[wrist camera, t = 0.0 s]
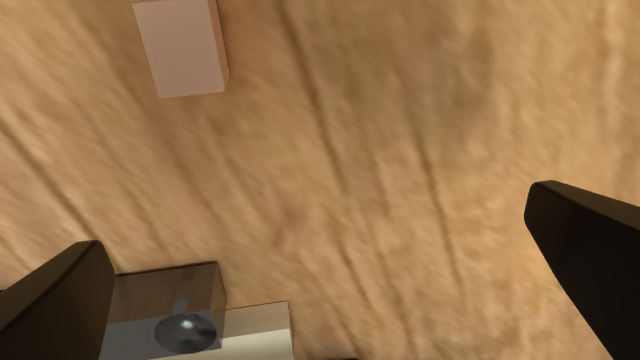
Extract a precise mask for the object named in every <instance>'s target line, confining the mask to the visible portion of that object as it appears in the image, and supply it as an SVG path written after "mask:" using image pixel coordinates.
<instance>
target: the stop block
mask: <svg viewBox="0 0 640 360" xmlns="http://www.w3.org/2000/svg"><path fill="white" fill-rule="evenodd" d="M132 6H133V10H134V13H135V17H136V20H137V24H138V27H139V31H140V35H141V38H142V42H143V45H144V49H145V52H146V56H147V59H148V63H149V66H150V70H151V73H152V77H153V80H154V84H155V87H156V91H157V94H158V98H159V99H162V98H171V97H181V96H190V95H199V94H208V93H218V92H225V91H226V87H227V83H228V79H229V76H230V73H229V68H228V62H227V57H226V52H225V46H224V41H223V35H222V30H221V25H220V19H219V14H218V9H217V3H216V0H140V1H137V2H134V3H132Z"/></svg>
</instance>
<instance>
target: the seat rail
mask: <svg viewBox="0 0 640 360" xmlns="http://www.w3.org/2000/svg"><path fill="white" fill-rule="evenodd" d="M151 360H295V357H294V344H293V334H292V328H291V322H290V316H289V309H288V303H287V301H285V302H278V303H271V304H264V305H257V306H251V307H244V308H237V309H230V310H226V312H225V322H224V331H223V341H222V349H216V350H209V351H203V352H198V353H193V354H183V355H177V356H170V357H164V358H157V359H151Z"/></svg>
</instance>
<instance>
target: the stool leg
mask: <svg viewBox="0 0 640 360" xmlns="http://www.w3.org/2000/svg"><path fill="white" fill-rule="evenodd" d="M226 302H227V300H226V296H225V292H224V289H223V285H222V281H221V277H220V274H219V270H218V266H217V263H214V264H207V265H200V266H189V267H184V268H178V269H171V270H164V271H157V272H149V273H142V274H135V275H128V276H121V277H116V280H115V286H114V291H113V296H112V301H111V306H110V311H109V316H108V321H107V326H106V331H105V336H104V341H103V345H102V349H101V353H100V356H99V360H151V359H157V358H164V357H170V356H177V355H183V354H193V353H198V352H203V351H209V350H216V349H222V341H223V331H224V322H225V312H226Z"/></svg>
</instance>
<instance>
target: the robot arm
mask: <svg viewBox="0 0 640 360" xmlns="http://www.w3.org/2000/svg"><path fill="white" fill-rule="evenodd" d="M524 221H525V224H526V226H527V228H528V230H529V231H530V233H531V235H532V237H533V239H534V240H535V242H536V244H537V246H538V247H539V249H540V251H541V253H542V254H543V256H544V258H545V260H546V261H547V263H548V265H549V267H550V268H551V270H552V272H553V274H554V275H555V277H556V279H557V280H558V282H559V283H560V285H561V286H562V288H563V289H564V291H565V292H566V294H567V295H568V297H569V298H570V299H571V301H572V302H573V304H574V305H575V306H576V308H577V309H578V311H579V312H580V313H581V315H582V316H583V318H584V319H585V320H586V322H587V323H588V325H589V326H590V327H591V329H592V330H593V332H594V333H595V334H596V336H597V337H598V339H599V340H600V341H601V343H602V344H603V346H604V347H605V348H606V350H607V351H608V353H609V354H610V355H611V357H612V358H613V360H640V207H638V206H635V205H632V204H629V203H626V202H622V201H619V200H616V199H613V198H609V197H606V196H603V195H600V194H597V193H593V192H590V191H587V190H584V189H581V188H577V187H574V186H571V185H568V184H564V183H561V182H558V181H555V180H547V181H540V182H535V183H533V184H532V185H531V187H530V189H529V194H528V198H527V202H526V207H525V211H524ZM115 280H116V276H115V271H114V268H113V266H112V263H111V261H110V259H109V257H108V254H107V252H106V250H105V248H104V245H103V244H102V243H101V242H100V241H98V240H89V241H81V242H77V243H75V244H73V245H71V246H70V247H68V248H67V249H65V250H64V251H62V252H61V253H59V254H58V255H56V256H55V257H54V258H52V259H51V260H49V261H48V262H46V263H45V264H43V265H42V266H40V267H39V268H37V269H36V270H34V271H33V272H31V273H30V274H28V275H27V276H25V277H24V278H22V279H21V280H19V281H18V282H16V283H15V284H13V285H12V286H10V287H9V288H7V289H6V290H4V291H3V292H1V293H0V360H99V356H100V353H101V349H102V345H103V341H104V336H105V331H106V326H107V321H108V316H109V311H110V306H111V301H112V296H113V291H114V286H115Z"/></svg>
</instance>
